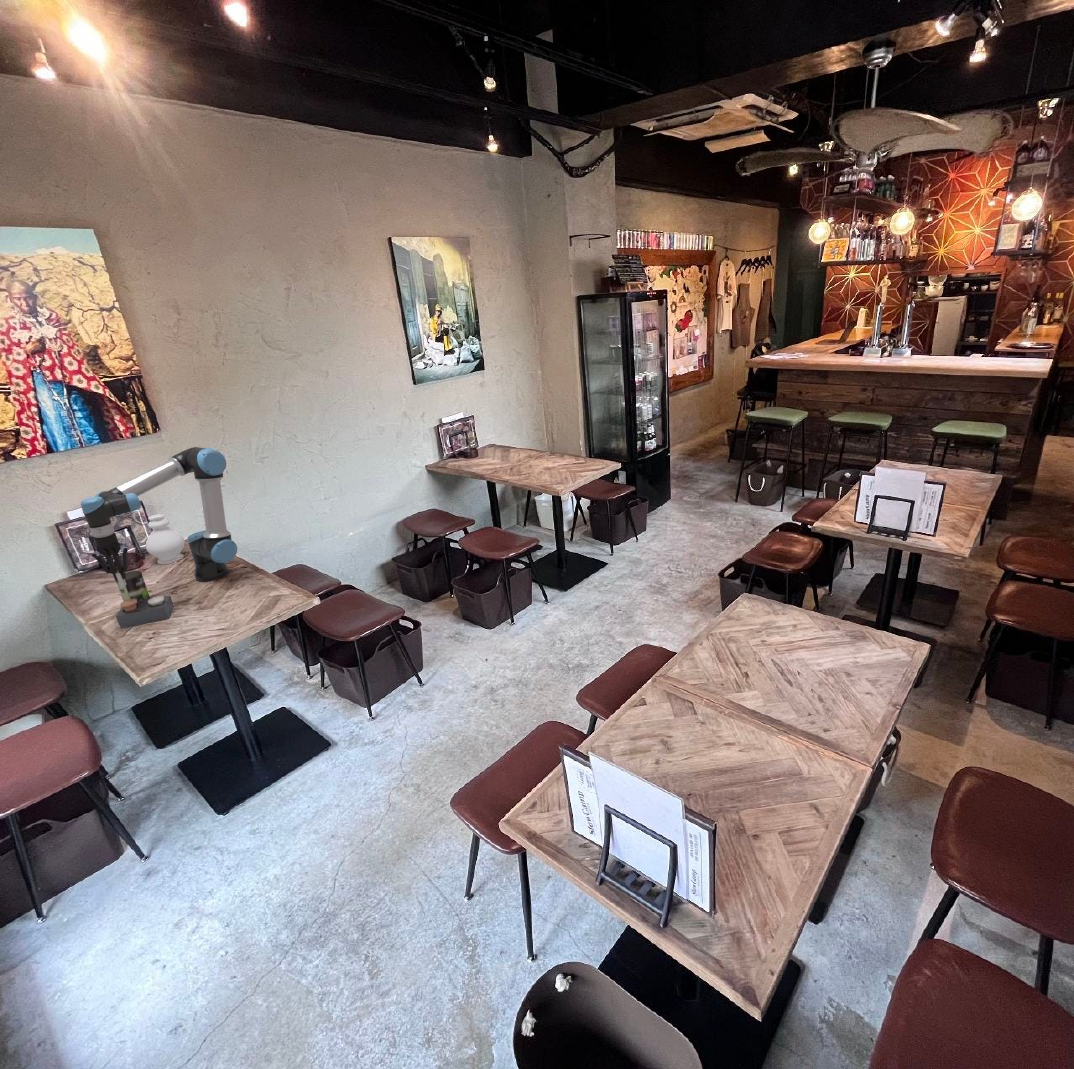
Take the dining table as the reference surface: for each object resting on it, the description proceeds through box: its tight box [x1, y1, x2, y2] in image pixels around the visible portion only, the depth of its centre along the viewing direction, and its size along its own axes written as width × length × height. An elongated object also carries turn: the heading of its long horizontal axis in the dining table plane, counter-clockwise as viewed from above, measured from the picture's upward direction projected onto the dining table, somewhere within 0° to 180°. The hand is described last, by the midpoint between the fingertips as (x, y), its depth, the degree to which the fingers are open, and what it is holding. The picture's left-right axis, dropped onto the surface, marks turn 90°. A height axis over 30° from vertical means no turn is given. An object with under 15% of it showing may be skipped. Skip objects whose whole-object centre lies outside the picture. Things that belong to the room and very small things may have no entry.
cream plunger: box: [148, 595, 165, 606], centre depth 251 cm, size 6×6×7 cm
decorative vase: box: [145, 513, 186, 565], centre depth 309 cm, size 18×18×25 cm
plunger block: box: [115, 594, 175, 629], centre depth 250 cm, size 18×12×6 cm, turn 111°
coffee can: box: [114, 570, 152, 602], centre depth 263 cm, size 10×10×14 cm
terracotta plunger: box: [119, 599, 137, 611], centre depth 248 cm, size 6×6×7 cm
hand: (123, 586), depth 244 cm, fingers closed
